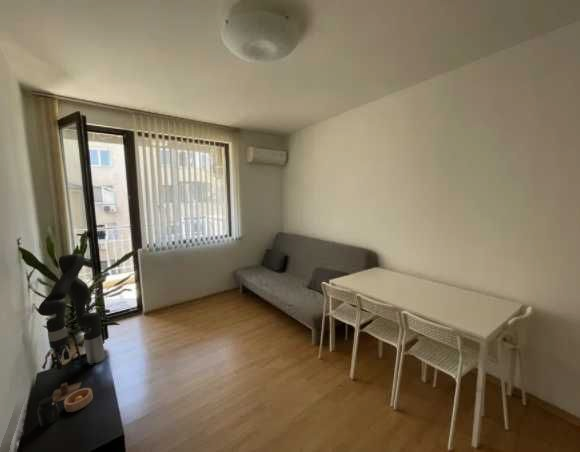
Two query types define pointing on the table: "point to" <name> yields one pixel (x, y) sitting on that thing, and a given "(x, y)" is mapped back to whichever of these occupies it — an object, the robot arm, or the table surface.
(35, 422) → the table surface
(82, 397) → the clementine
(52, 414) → the supplement bottle
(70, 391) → the lid
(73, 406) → the bowl
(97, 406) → the table surface
